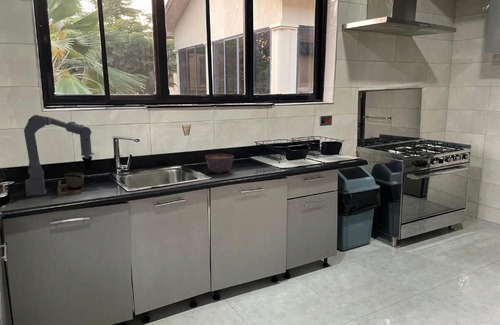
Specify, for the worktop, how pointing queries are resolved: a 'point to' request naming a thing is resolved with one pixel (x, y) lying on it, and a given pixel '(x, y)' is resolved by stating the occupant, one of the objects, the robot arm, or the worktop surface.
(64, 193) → the tan piece
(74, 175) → the food container
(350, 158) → the worktop surface
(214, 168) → the bowl of food
